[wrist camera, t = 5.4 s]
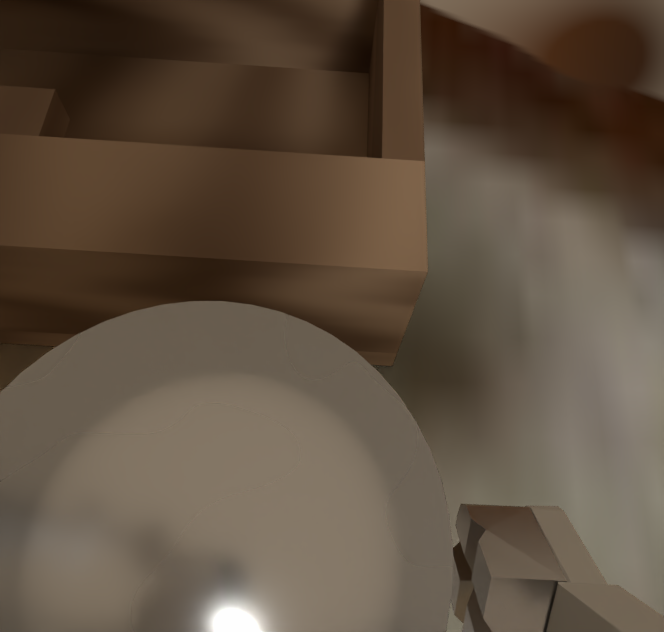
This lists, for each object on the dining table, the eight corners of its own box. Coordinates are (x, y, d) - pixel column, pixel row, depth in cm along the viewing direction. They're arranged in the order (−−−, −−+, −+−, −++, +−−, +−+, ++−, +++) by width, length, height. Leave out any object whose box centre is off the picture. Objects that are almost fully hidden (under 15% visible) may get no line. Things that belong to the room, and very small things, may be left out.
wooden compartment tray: (392, 41, 24) (416, -110, 18) (392, 366, 17) (428, 271, 12) (-159, 4, 23) (-288, -162, 18) (-358, 322, 17) (-637, 206, 12)
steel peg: (141, 707, 13) (-521, 1155, 3) (180, 463, 16) (-83, 181, 5) (383, 719, 14) (687, 1196, 3) (384, 474, 16) (549, 221, 5)
